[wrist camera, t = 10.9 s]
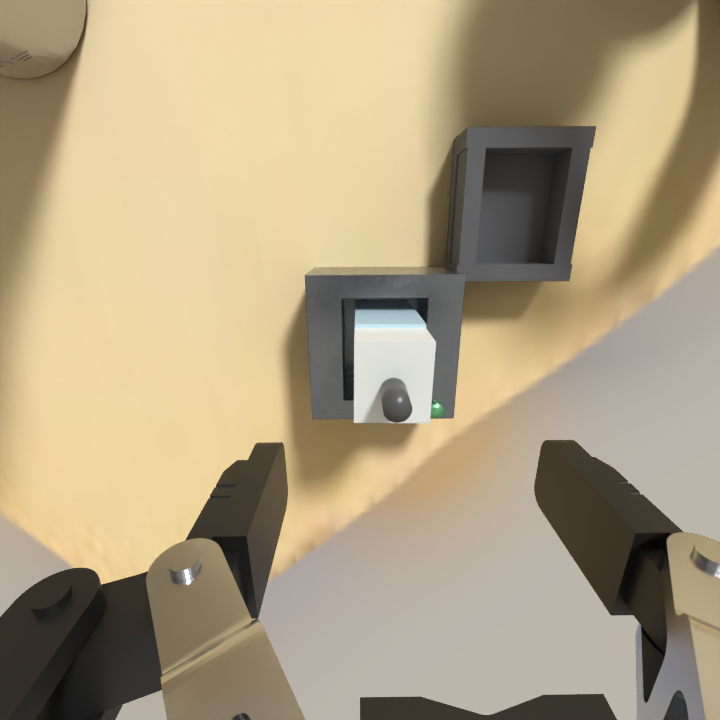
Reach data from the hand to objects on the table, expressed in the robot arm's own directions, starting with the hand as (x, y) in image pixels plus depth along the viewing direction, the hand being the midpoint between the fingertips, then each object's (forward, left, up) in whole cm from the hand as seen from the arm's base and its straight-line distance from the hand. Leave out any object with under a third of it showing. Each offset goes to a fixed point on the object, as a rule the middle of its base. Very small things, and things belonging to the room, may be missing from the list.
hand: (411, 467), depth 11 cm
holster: (-8, +8, -17) cm, 20 cm away
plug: (0, 0, -16) cm, 16 cm away
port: (0, 0, -17) cm, 17 cm away
